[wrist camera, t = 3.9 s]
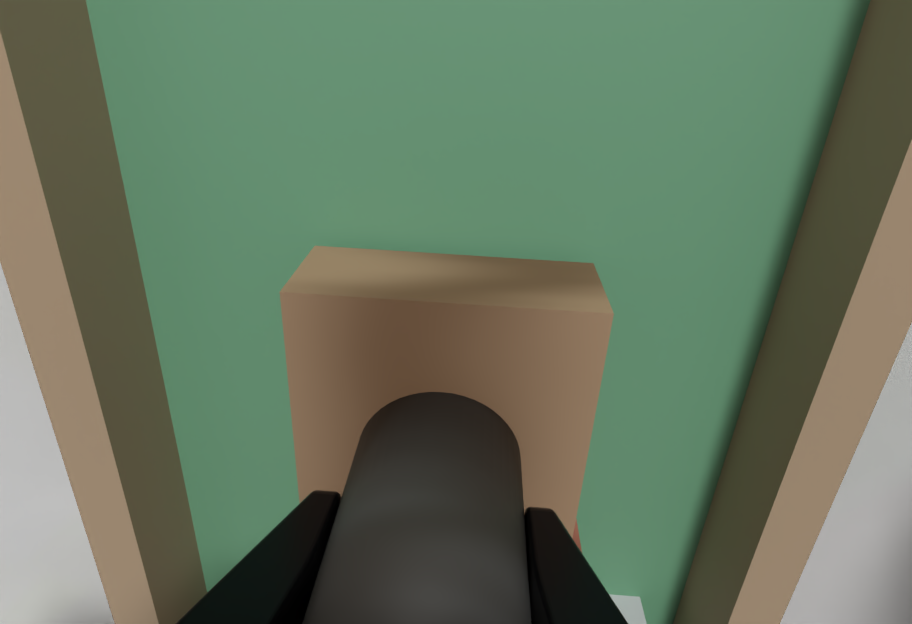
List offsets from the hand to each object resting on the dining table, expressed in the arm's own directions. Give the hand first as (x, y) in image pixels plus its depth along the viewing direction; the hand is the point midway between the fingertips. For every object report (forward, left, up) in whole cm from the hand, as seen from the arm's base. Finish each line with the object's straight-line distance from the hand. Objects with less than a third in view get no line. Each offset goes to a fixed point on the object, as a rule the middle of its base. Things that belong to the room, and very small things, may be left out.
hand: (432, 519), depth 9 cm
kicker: (0, +1, -3) cm, 3 cm away
